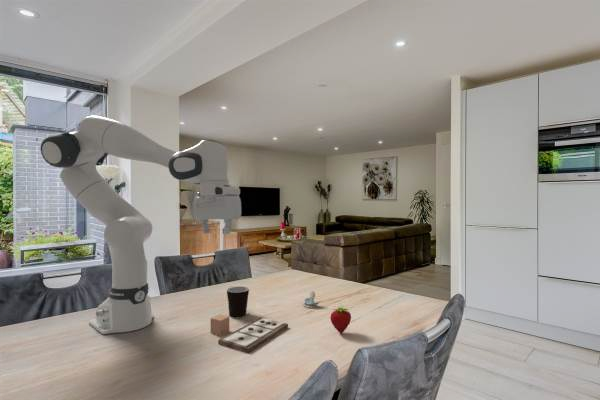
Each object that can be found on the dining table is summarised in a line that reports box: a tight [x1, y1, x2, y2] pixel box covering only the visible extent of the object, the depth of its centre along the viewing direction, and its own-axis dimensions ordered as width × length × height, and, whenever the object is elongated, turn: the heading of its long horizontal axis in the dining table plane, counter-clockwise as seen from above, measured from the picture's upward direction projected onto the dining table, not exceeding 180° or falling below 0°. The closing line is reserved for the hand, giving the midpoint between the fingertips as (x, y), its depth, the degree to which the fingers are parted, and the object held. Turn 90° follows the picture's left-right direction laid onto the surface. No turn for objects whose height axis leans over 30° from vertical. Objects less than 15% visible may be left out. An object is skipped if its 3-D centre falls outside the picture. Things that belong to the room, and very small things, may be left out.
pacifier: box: [302, 290, 320, 309], centre depth 135 cm, size 7×6×6 cm
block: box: [210, 313, 230, 337], centre depth 107 cm, size 4×4×5 cm
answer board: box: [218, 317, 289, 354], centre depth 105 cm, size 12×22×2 cm, turn 151°
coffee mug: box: [226, 285, 250, 319], centre depth 125 cm, size 12×9×10 cm
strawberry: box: [329, 302, 352, 334], centre depth 107 cm, size 6×8×10 cm
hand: (216, 233), depth 101 cm, fingers open, 8 cm apart
